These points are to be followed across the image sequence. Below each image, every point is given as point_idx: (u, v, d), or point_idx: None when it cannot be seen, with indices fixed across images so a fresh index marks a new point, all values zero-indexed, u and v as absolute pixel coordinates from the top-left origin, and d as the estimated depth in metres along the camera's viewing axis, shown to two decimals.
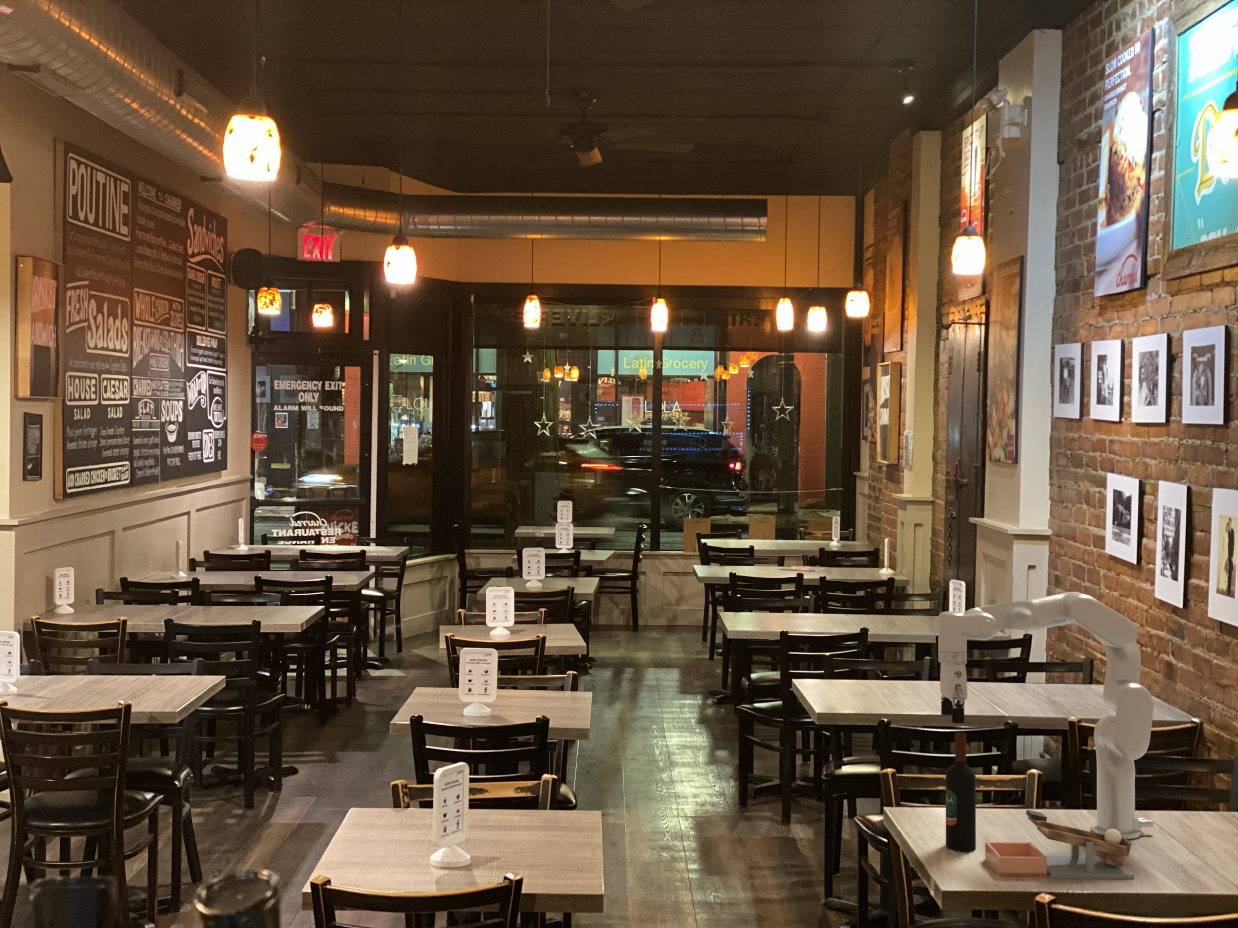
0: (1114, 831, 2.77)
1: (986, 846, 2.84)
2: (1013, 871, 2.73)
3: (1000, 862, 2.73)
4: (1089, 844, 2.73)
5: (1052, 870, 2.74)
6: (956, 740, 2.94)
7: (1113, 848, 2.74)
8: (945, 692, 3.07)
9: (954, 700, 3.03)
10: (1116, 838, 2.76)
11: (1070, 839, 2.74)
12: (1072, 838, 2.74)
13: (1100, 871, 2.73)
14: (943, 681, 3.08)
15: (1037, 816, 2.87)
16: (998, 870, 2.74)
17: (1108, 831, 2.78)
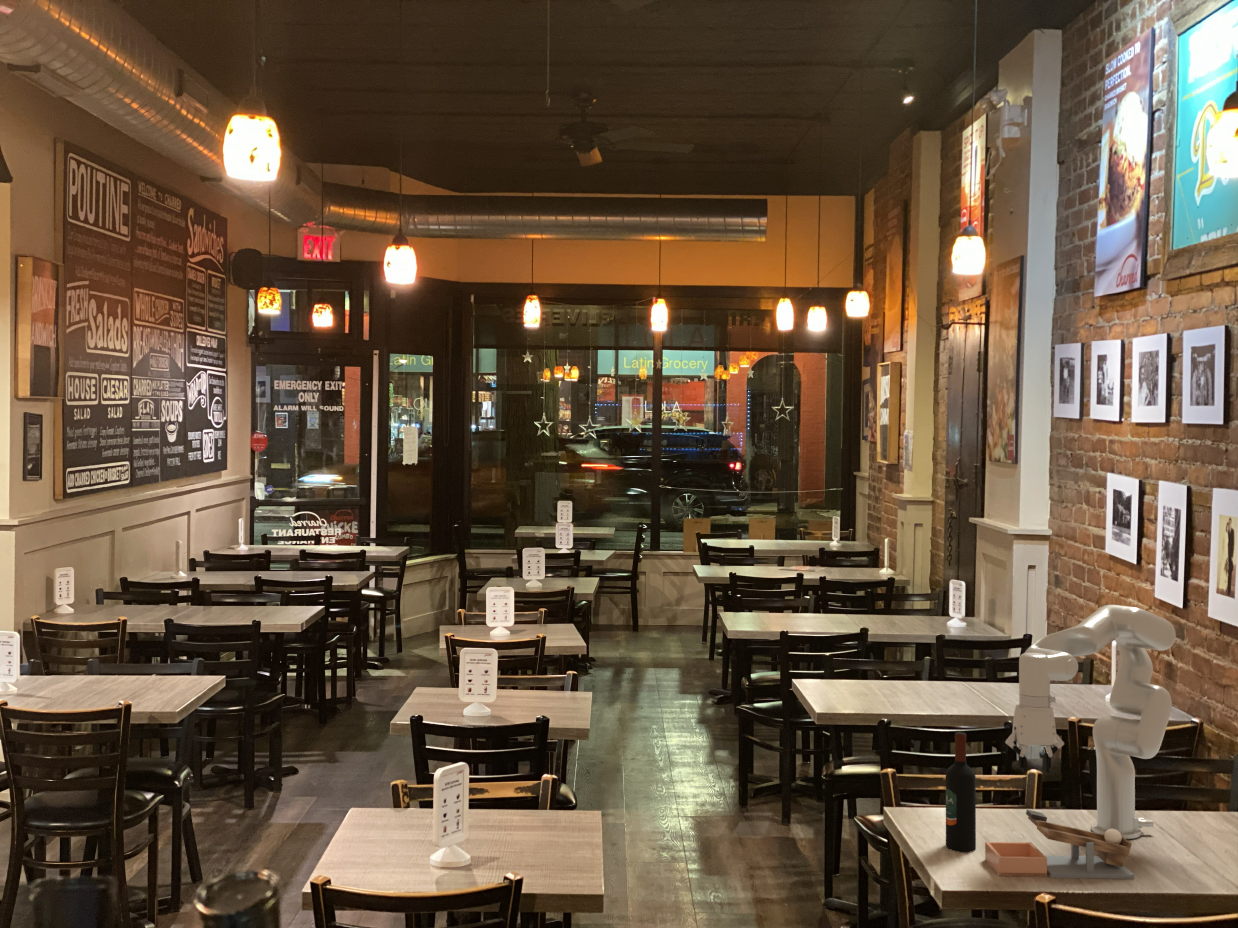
0: (1114, 831, 2.77)
1: (986, 846, 2.84)
2: (1013, 871, 2.73)
3: (1000, 862, 2.73)
4: (1089, 844, 2.73)
5: (1052, 870, 2.74)
6: (956, 740, 2.94)
7: (1113, 848, 2.74)
8: (1040, 740, 2.87)
9: (1050, 748, 2.88)
10: (1116, 838, 2.76)
11: (1070, 839, 2.74)
12: (1072, 838, 2.74)
13: (1100, 871, 2.73)
14: (1037, 729, 2.87)
15: (1037, 816, 2.87)
16: (998, 870, 2.74)
17: (1108, 831, 2.78)
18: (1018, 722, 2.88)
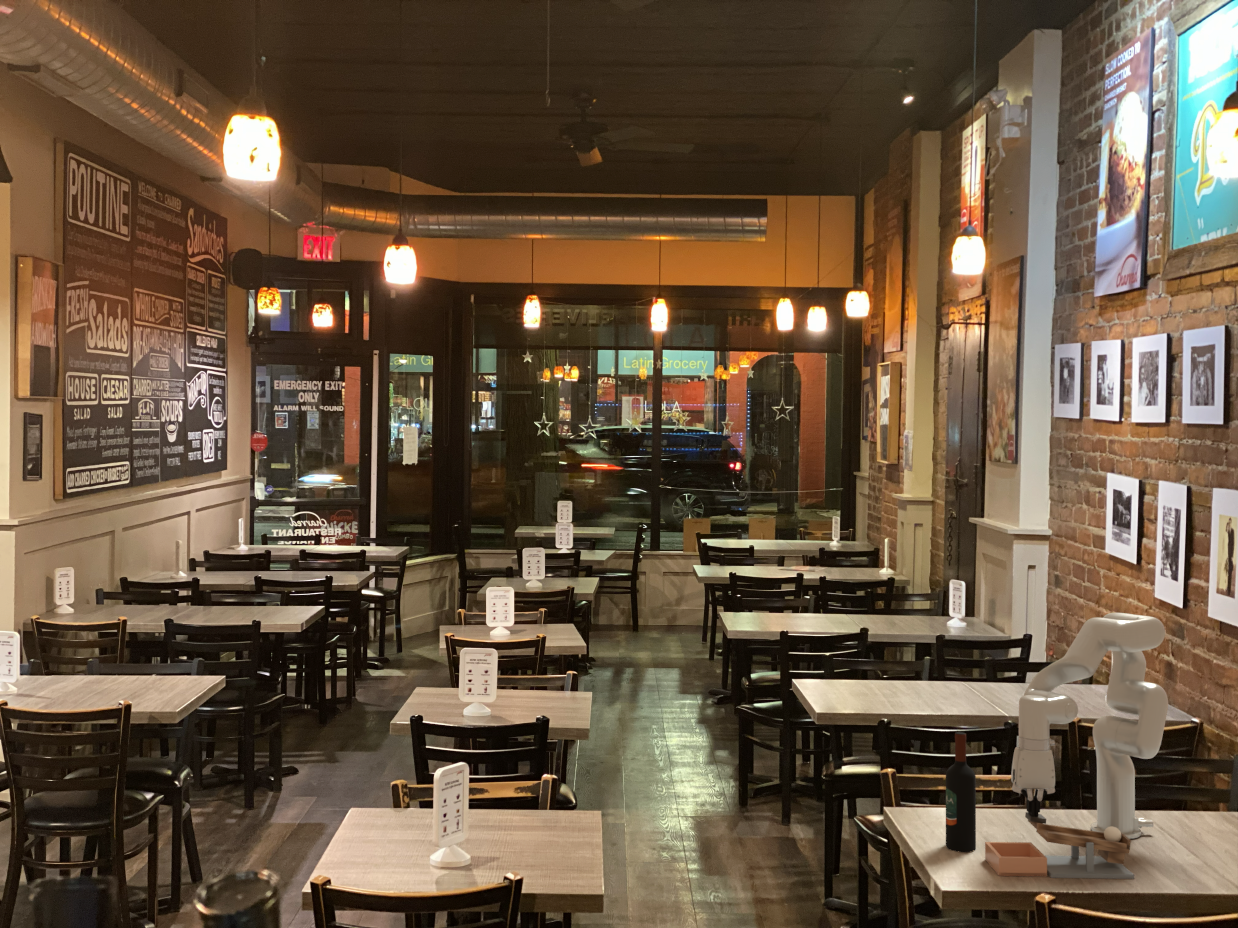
0: (1114, 829, 2.77)
1: (986, 846, 2.84)
2: (1013, 871, 2.73)
3: (1000, 862, 2.73)
4: (1089, 844, 2.73)
5: (1052, 870, 2.74)
6: (956, 740, 2.94)
7: (1113, 846, 2.74)
8: (1039, 783, 2.87)
9: None
10: (1115, 835, 2.76)
11: (1070, 840, 2.74)
12: (1072, 839, 2.74)
13: (1100, 871, 2.73)
14: (1036, 772, 2.87)
15: (1036, 818, 2.87)
16: (998, 870, 2.74)
17: (1107, 829, 2.78)
18: (1017, 765, 2.88)
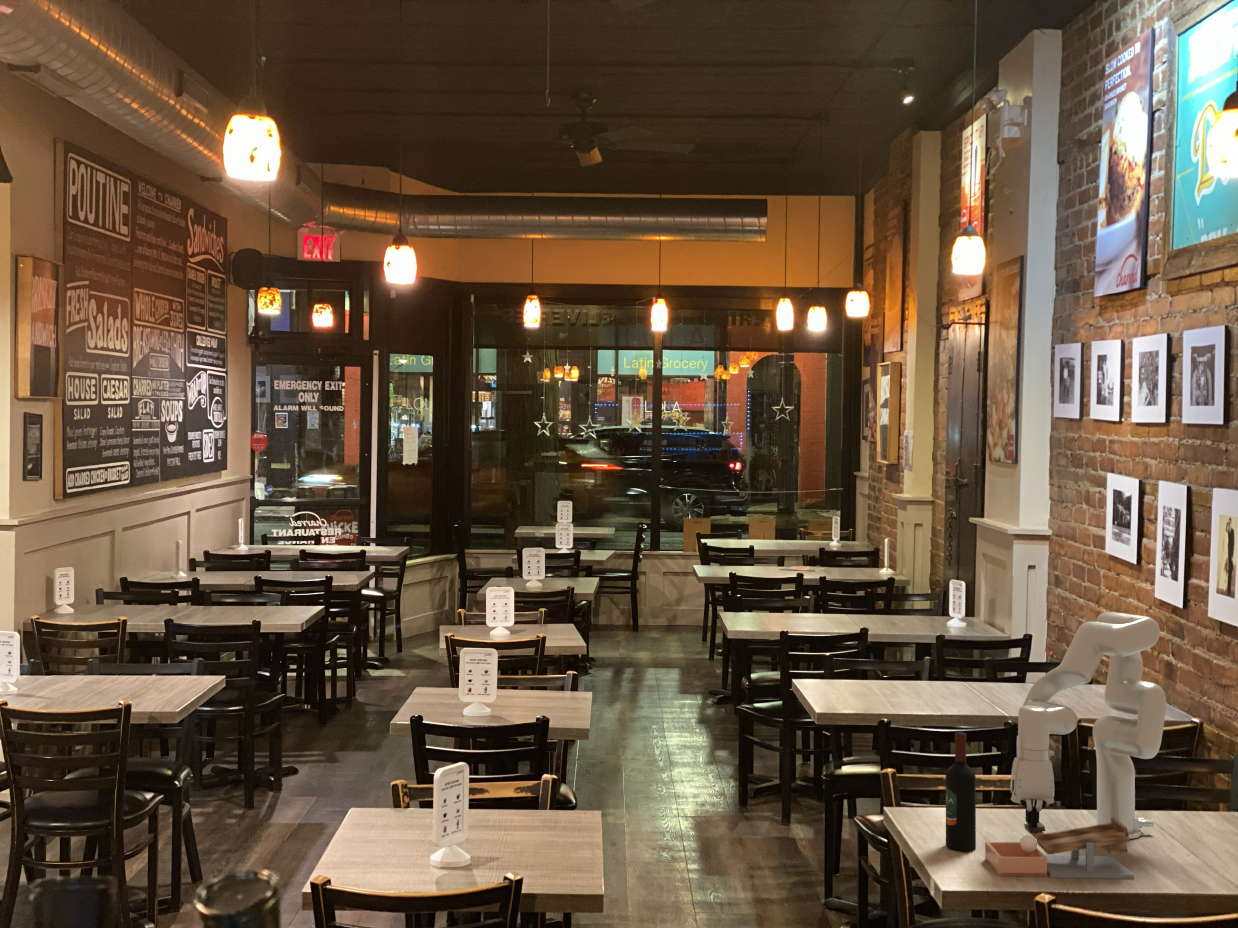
0: (1035, 848, 2.77)
1: (986, 846, 2.84)
2: (1013, 871, 2.73)
3: (1000, 862, 2.73)
4: (1089, 844, 2.73)
5: (1052, 870, 2.74)
6: (956, 740, 2.94)
7: (1112, 839, 2.74)
8: (1038, 794, 2.87)
9: (1041, 803, 2.88)
10: (1032, 846, 2.77)
11: (1069, 846, 2.74)
12: (1071, 844, 2.74)
13: (1100, 871, 2.73)
14: (1035, 783, 2.87)
15: (1035, 829, 2.87)
16: (998, 870, 2.74)
17: (1036, 842, 2.78)
18: (1016, 775, 2.88)
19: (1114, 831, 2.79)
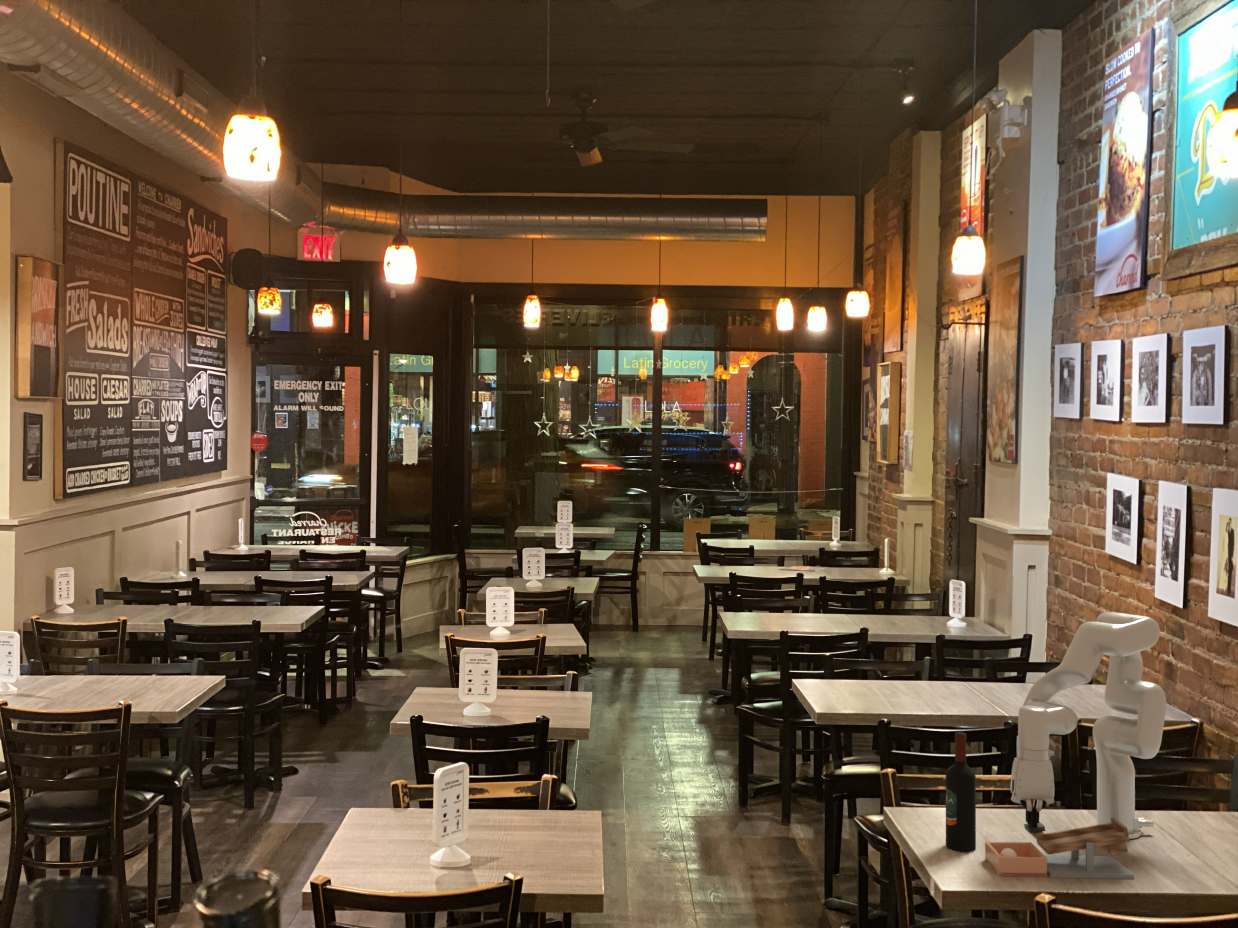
0: None
1: (986, 846, 2.84)
2: (1013, 871, 2.73)
3: (1000, 862, 2.73)
4: (1089, 844, 2.73)
5: (1052, 870, 2.74)
6: (956, 740, 2.94)
7: (1112, 838, 2.74)
8: (1038, 794, 2.87)
9: (1041, 803, 2.88)
10: None
11: (1069, 846, 2.74)
12: (1071, 844, 2.74)
13: (1100, 871, 2.73)
14: (1035, 783, 2.87)
15: (1035, 829, 2.87)
16: (998, 870, 2.74)
17: None
18: (1016, 775, 2.88)
19: (1114, 831, 2.79)
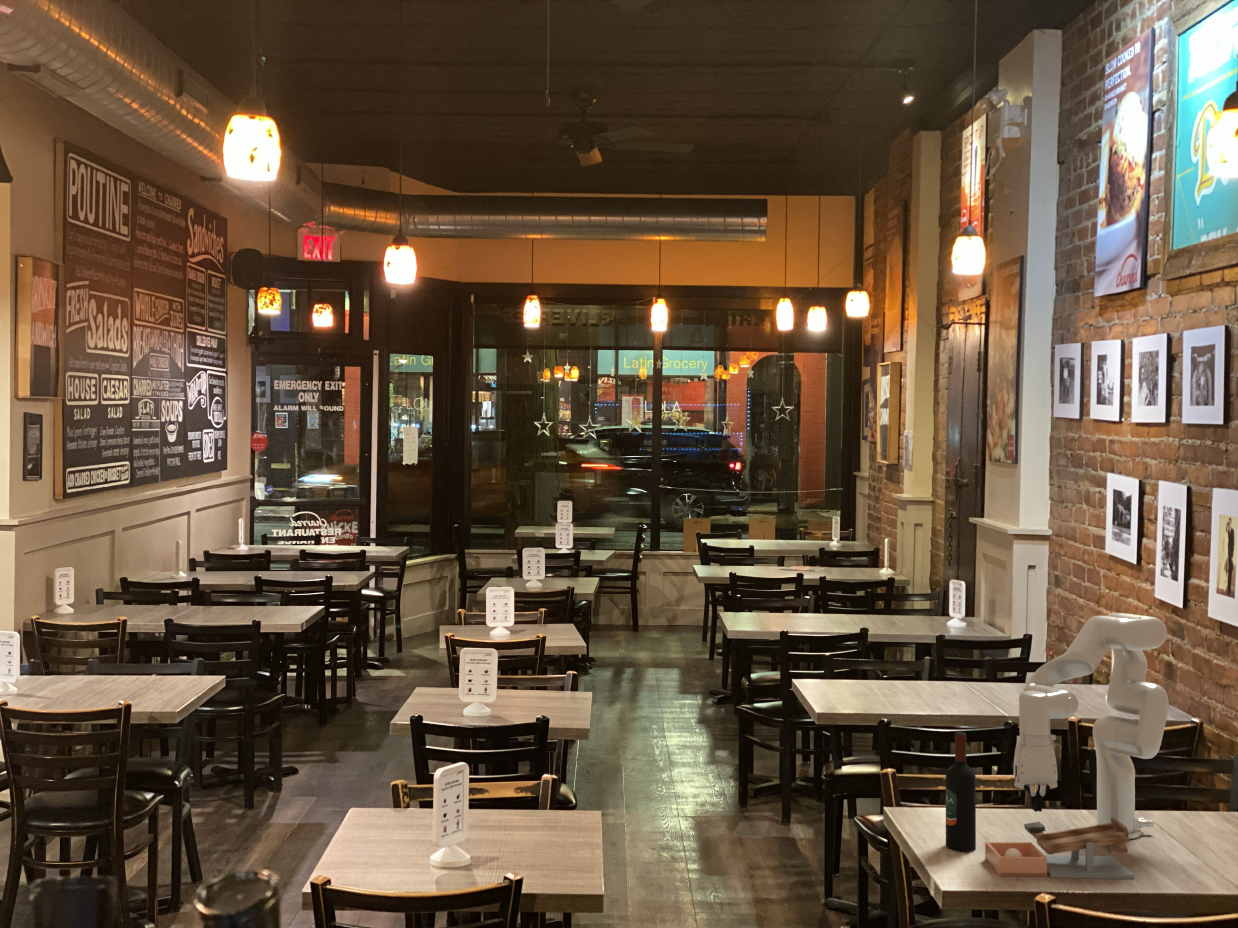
0: (1010, 853, 2.78)
1: (986, 846, 2.84)
2: (1013, 871, 2.73)
3: (1000, 862, 2.73)
4: (1089, 844, 2.73)
5: (1052, 870, 2.74)
6: (956, 740, 2.94)
7: (1112, 838, 2.74)
8: (1041, 779, 2.87)
9: None
10: None
11: (1069, 846, 2.74)
12: (1071, 844, 2.74)
13: (1100, 871, 2.73)
14: (1038, 768, 2.87)
15: (1035, 829, 2.87)
16: (998, 870, 2.74)
17: (1006, 856, 2.78)
18: (1019, 761, 2.88)
19: (1114, 831, 2.79)
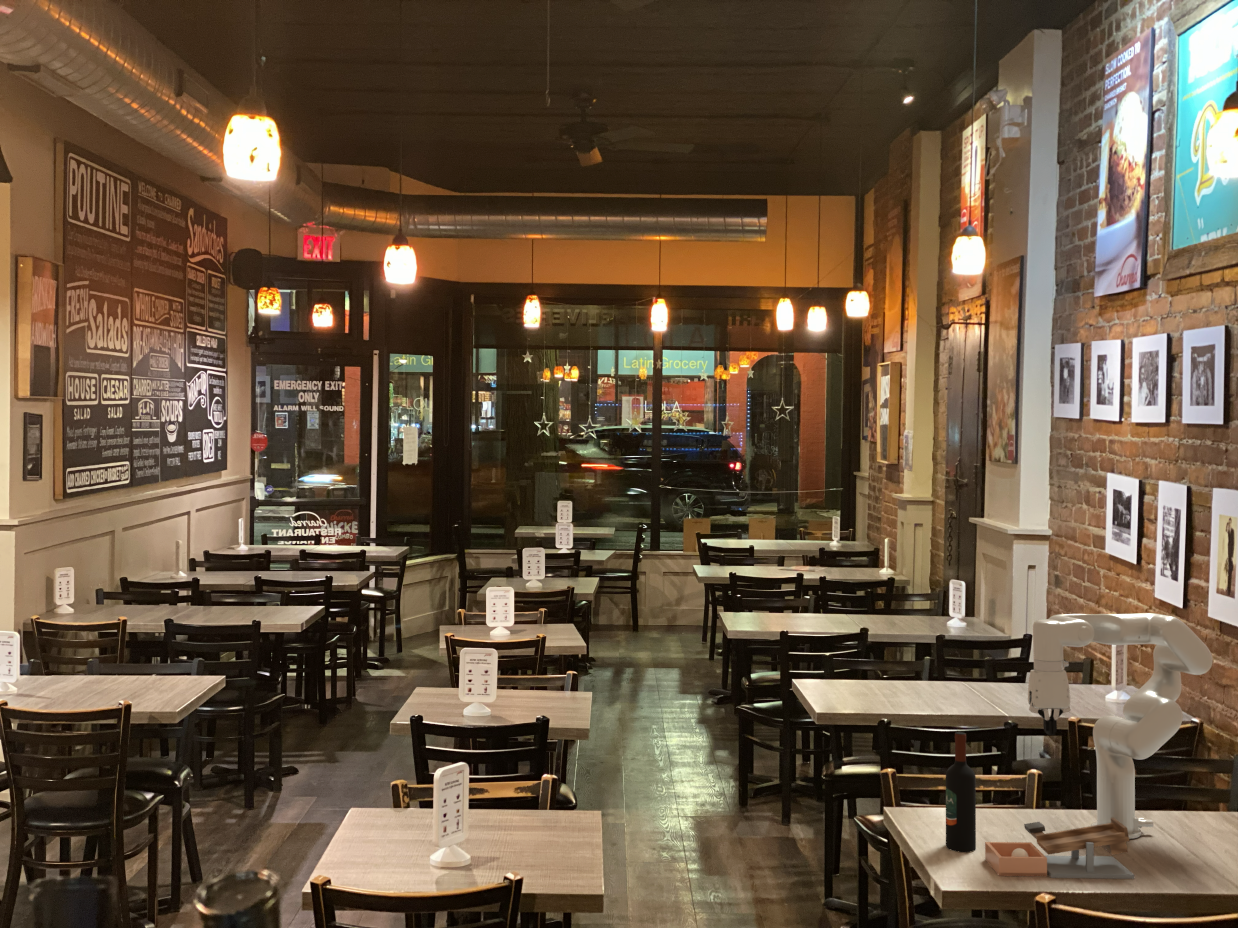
0: (1021, 851, 2.77)
1: (986, 846, 2.84)
2: (1013, 871, 2.73)
3: (1000, 862, 2.73)
4: (1089, 844, 2.73)
5: (1052, 870, 2.74)
6: (956, 740, 2.94)
7: (1112, 838, 2.74)
8: (1055, 703, 2.99)
9: (1058, 712, 3.00)
10: None
11: (1069, 846, 2.74)
12: (1071, 844, 2.74)
13: (1100, 871, 2.73)
14: (1051, 693, 2.98)
15: (1035, 829, 2.87)
16: (998, 870, 2.74)
17: (1015, 850, 2.78)
18: (1033, 686, 2.99)
19: (1114, 831, 2.79)
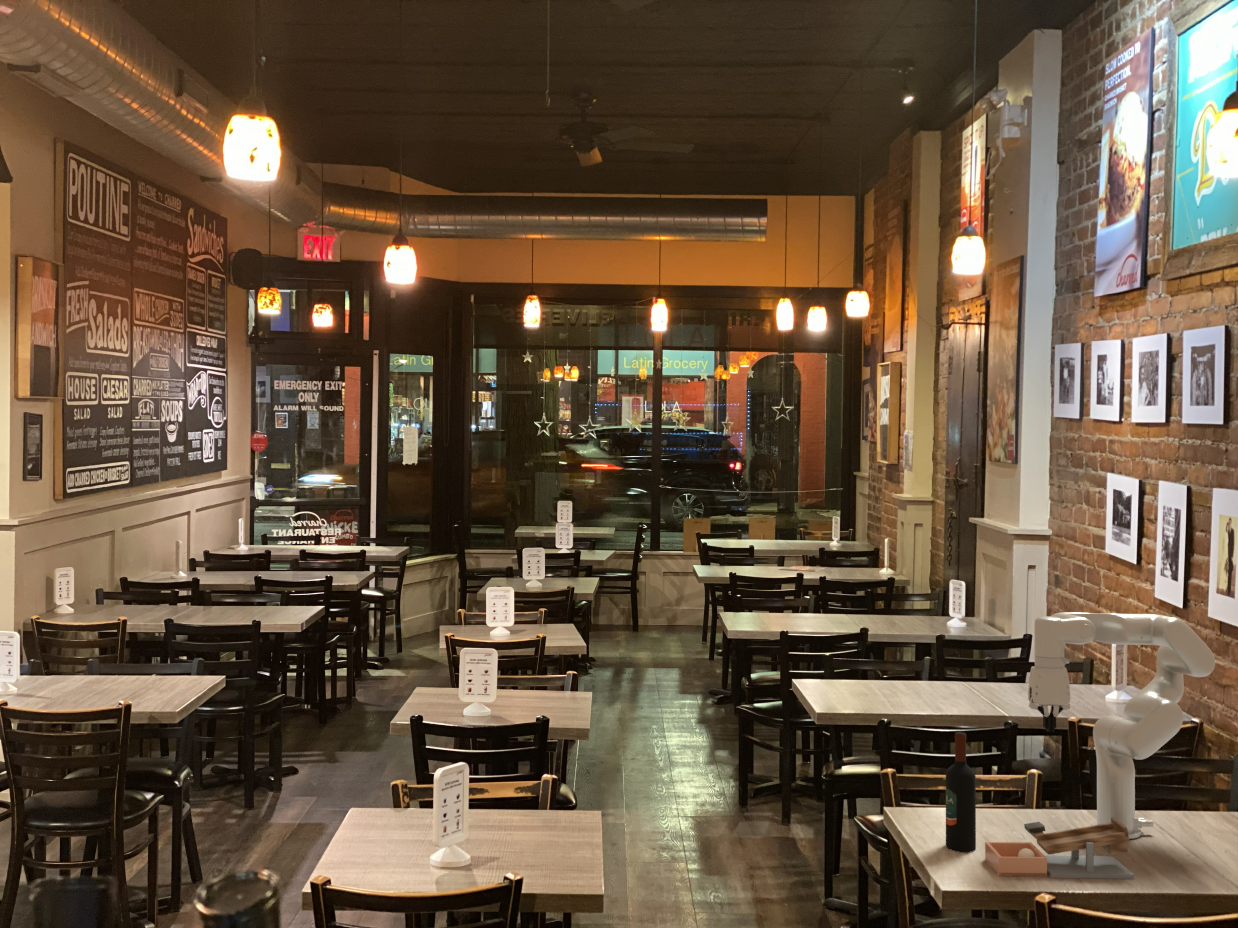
0: (1033, 853, 2.77)
1: (986, 846, 2.84)
2: (1013, 871, 2.73)
3: (1000, 862, 2.73)
4: (1089, 844, 2.73)
5: (1052, 870, 2.74)
6: (956, 740, 2.94)
7: (1112, 838, 2.74)
8: (1055, 700, 2.99)
9: None
10: None
11: (1069, 846, 2.74)
12: (1071, 844, 2.74)
13: (1100, 871, 2.73)
14: (1051, 689, 2.99)
15: (1035, 829, 2.87)
16: (998, 870, 2.74)
17: (1027, 849, 2.78)
18: (1034, 683, 3.00)
19: (1114, 831, 2.79)
